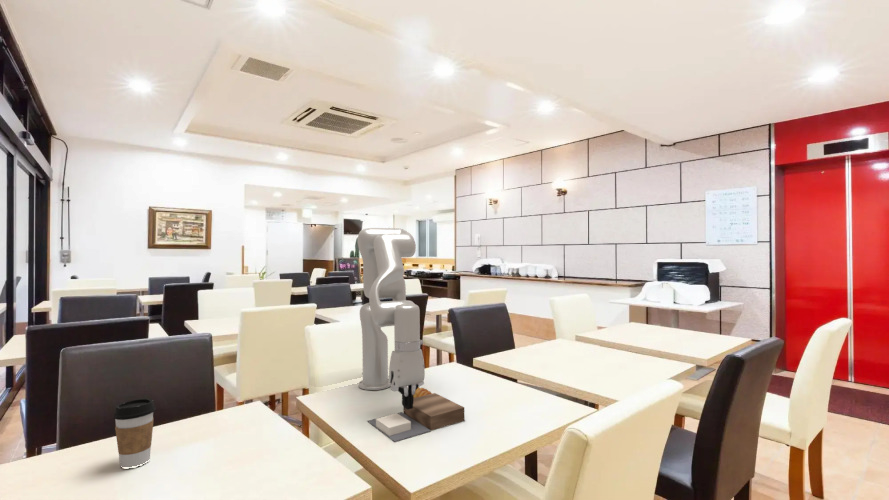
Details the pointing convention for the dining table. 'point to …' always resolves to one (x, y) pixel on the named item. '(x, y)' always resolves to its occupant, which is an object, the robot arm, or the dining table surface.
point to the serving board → (435, 411)
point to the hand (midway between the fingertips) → (407, 407)
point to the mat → (415, 430)
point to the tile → (393, 424)
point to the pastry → (421, 392)
